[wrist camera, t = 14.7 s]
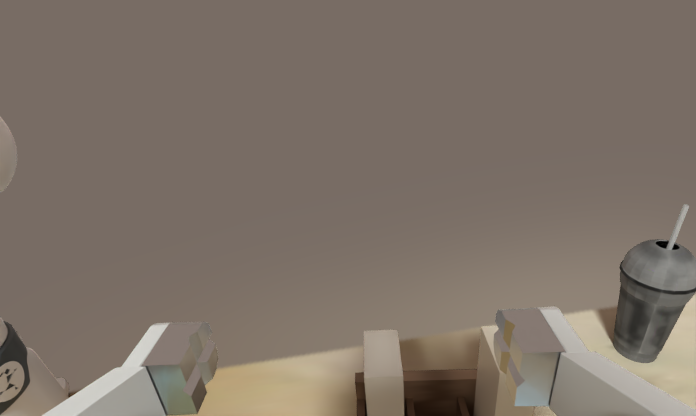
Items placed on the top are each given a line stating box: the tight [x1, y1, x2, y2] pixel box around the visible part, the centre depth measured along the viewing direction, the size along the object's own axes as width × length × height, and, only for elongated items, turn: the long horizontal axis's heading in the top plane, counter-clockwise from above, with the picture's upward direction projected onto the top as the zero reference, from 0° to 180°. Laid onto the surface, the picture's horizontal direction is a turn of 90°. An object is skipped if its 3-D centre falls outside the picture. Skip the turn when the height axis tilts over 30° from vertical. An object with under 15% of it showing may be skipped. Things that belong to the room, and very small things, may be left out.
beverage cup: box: [613, 204, 696, 363], centre depth 44 cm, size 7×7×20 cm
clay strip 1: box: [364, 330, 404, 416], centre depth 34 cm, size 3×5×14 cm, turn 178°
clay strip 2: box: [473, 326, 535, 416], centre depth 34 cm, size 3×5×14 cm, turn 178°
